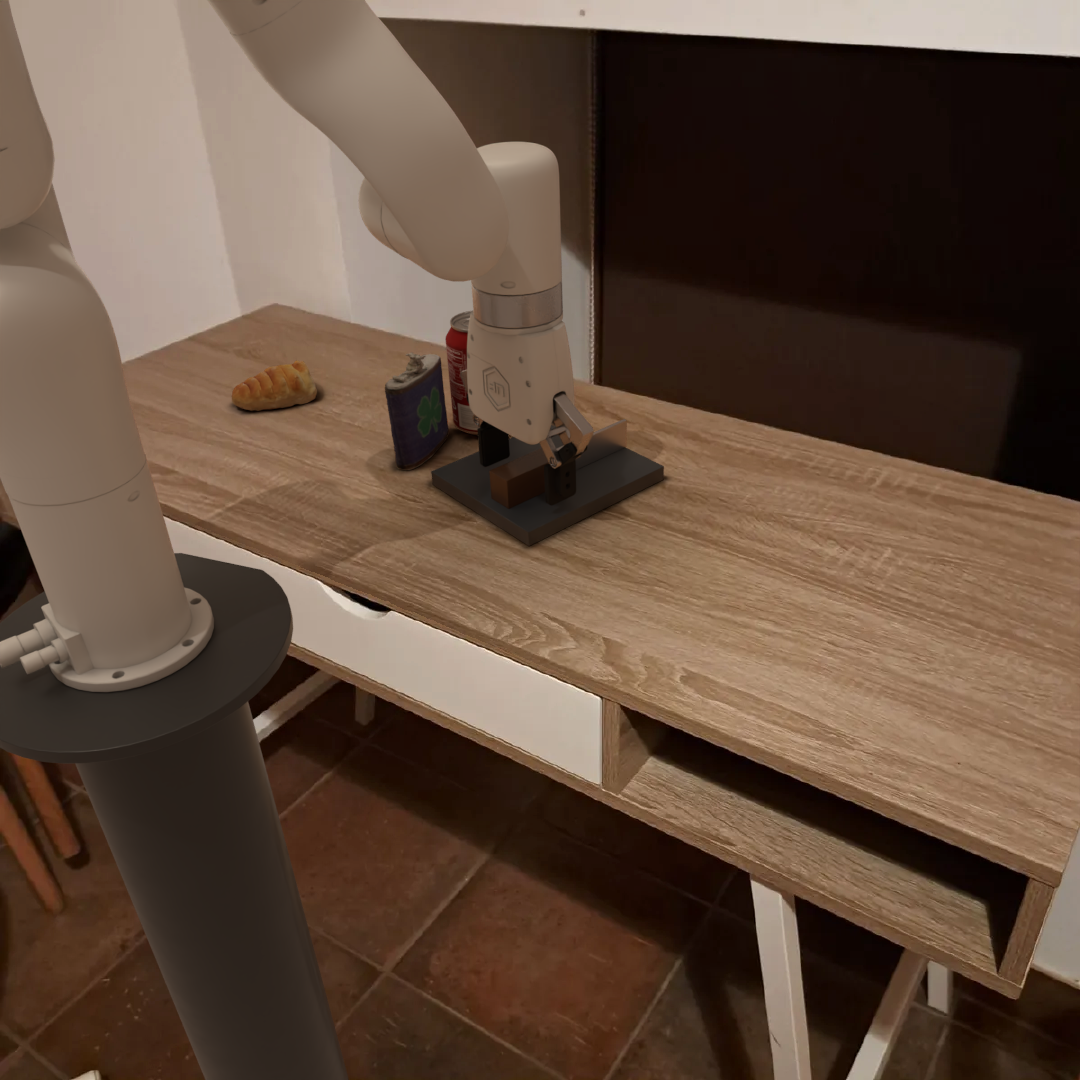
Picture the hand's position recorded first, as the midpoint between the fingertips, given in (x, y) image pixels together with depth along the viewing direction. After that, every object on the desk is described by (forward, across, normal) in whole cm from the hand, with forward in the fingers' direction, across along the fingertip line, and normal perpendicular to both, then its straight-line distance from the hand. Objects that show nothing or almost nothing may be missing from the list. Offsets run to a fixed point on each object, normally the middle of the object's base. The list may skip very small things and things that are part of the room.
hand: (527, 479), depth 94 cm
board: (+3, -2, +4) cm, 5 cm away
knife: (+1, 0, +4) cm, 4 cm away
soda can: (+3, -16, +7) cm, 18 cm away
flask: (+3, -16, -1) cm, 16 cm away
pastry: (+3, -38, -6) cm, 39 cm away
